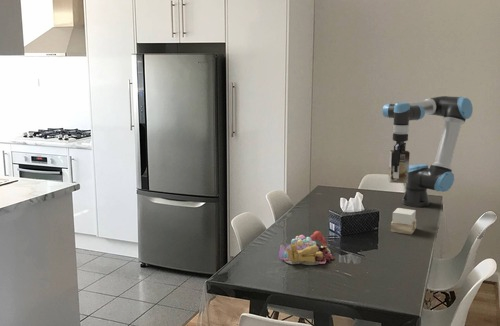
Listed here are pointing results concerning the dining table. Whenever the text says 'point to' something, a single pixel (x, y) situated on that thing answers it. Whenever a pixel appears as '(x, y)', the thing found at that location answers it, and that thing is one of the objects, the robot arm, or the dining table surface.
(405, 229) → the tower base block
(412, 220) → the tower top block
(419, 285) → the dining table surface
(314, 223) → the dining table surface
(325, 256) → the plate of sweets
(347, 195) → the dining table surface
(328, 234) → the dining table surface
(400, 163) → the coffee box
